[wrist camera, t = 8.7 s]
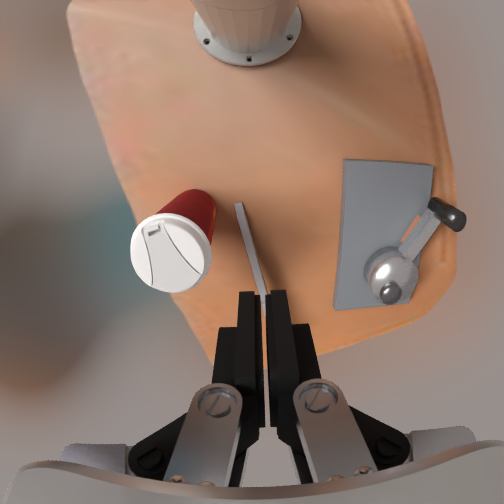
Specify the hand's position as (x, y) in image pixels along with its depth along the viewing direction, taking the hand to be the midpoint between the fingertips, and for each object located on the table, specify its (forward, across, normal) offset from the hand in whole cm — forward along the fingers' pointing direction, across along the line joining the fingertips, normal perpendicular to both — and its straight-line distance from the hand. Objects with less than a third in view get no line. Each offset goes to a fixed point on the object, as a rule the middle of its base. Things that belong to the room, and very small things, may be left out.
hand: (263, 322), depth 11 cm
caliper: (+28, 0, +13) cm, 31 cm away
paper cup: (+27, +8, +4) cm, 29 cm away
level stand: (+27, -18, +9) cm, 33 cm away
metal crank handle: (+25, -21, +9) cm, 34 cm away
